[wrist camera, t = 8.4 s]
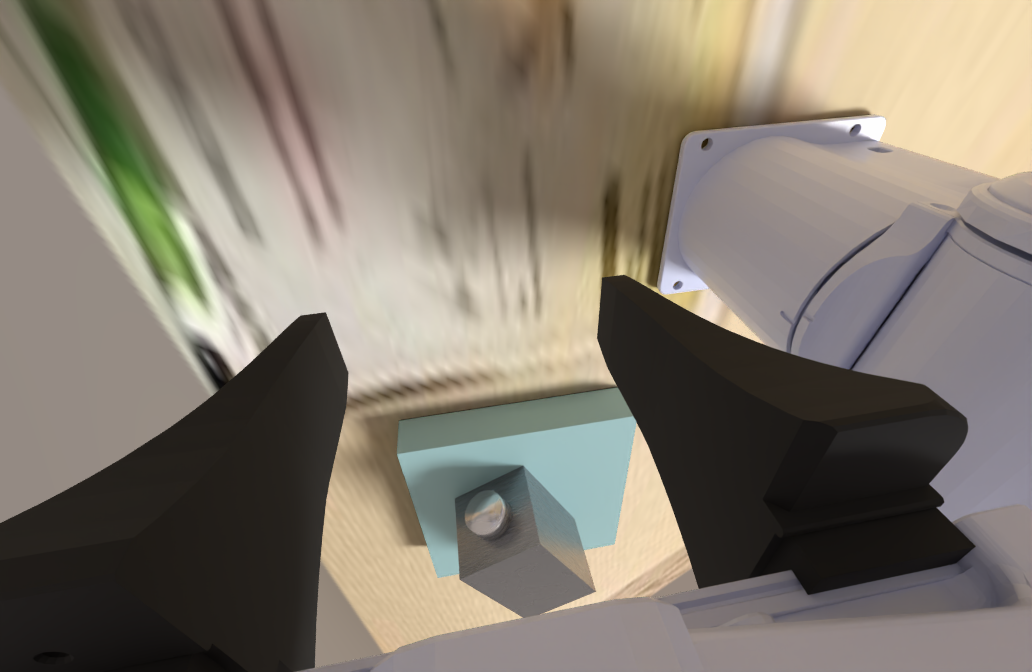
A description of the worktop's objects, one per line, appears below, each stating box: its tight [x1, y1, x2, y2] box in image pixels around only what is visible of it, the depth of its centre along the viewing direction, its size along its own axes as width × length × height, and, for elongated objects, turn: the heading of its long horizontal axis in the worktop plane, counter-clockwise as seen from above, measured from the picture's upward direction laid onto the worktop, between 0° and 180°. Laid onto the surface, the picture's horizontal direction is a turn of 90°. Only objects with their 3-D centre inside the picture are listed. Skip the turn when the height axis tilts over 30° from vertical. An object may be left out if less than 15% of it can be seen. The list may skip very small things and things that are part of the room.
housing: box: [455, 465, 596, 618], centre depth 28 cm, size 9×5×5 cm, turn 29°
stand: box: [397, 387, 636, 578], centre depth 31 cm, size 14×15×2 cm
